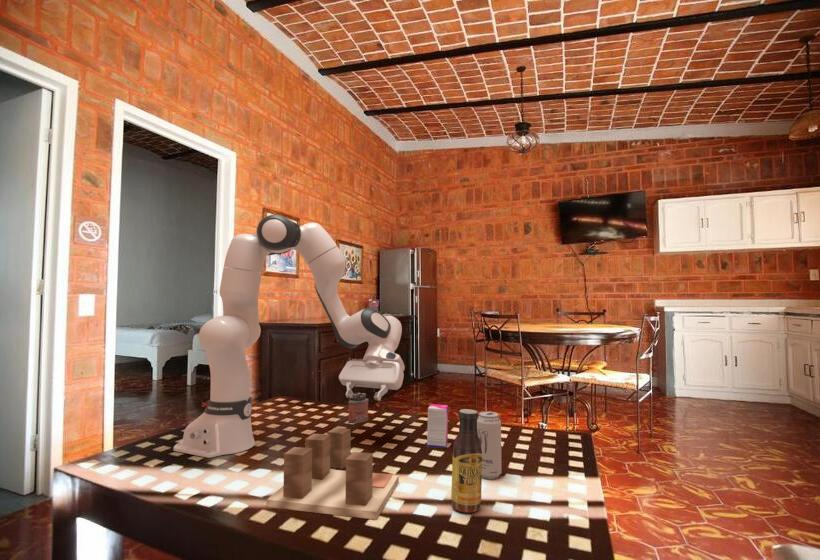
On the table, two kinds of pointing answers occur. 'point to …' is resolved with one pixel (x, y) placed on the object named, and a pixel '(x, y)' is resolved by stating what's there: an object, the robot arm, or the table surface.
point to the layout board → (331, 482)
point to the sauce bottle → (467, 464)
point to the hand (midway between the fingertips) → (362, 398)
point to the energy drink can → (490, 443)
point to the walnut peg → (339, 446)
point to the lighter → (358, 408)
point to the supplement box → (437, 426)
